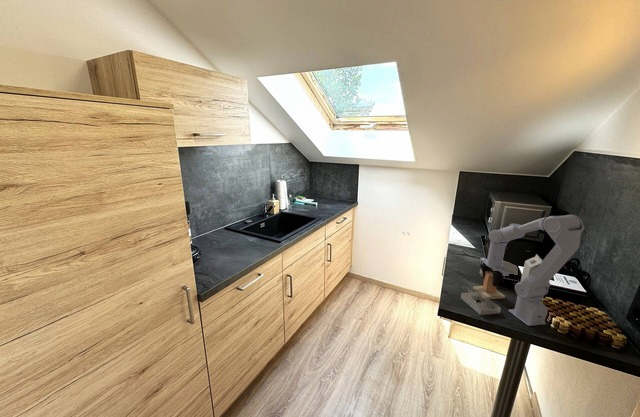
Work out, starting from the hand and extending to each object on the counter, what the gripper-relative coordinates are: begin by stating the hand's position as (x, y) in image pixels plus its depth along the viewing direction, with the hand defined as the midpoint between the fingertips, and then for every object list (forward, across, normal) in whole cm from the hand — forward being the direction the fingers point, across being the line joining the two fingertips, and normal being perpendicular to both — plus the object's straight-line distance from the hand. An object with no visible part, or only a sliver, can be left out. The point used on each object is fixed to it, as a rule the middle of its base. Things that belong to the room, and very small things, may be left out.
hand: (490, 282), depth 121 cm
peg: (+3, 0, 0) cm, 3 cm away
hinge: (+6, +13, -16) cm, 22 cm away
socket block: (+5, -8, +11) cm, 15 cm away
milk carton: (+6, -4, -18) cm, 19 cm away
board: (+5, 0, 0) cm, 5 cm away
